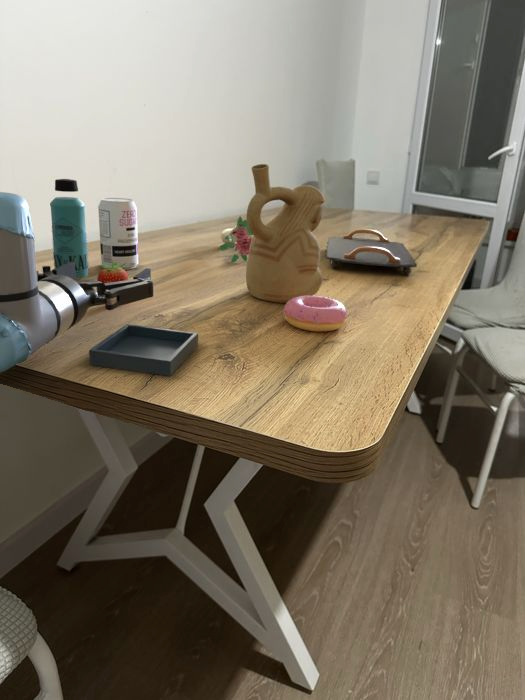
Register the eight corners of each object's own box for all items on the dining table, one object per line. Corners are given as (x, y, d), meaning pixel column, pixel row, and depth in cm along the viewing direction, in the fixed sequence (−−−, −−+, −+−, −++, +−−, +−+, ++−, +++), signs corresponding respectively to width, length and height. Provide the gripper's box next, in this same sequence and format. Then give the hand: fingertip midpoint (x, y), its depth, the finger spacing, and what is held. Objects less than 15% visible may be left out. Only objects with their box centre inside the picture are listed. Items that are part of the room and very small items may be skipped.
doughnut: (359, 328, 88) (362, 305, 87) (310, 338, 82) (312, 313, 81) (317, 311, 96) (319, 289, 95) (269, 318, 90) (271, 295, 89)
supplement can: (109, 261, 124) (106, 196, 118) (143, 264, 123) (141, 199, 118) (95, 268, 116) (91, 200, 111) (131, 271, 116) (129, 202, 110)
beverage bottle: (56, 278, 107) (47, 176, 99) (90, 278, 109) (83, 178, 101) (54, 287, 101) (45, 179, 93) (90, 286, 103) (83, 181, 96)
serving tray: (418, 279, 126) (422, 253, 124) (323, 270, 129) (325, 245, 126) (400, 250, 162) (404, 230, 160) (326, 244, 164) (328, 224, 162)
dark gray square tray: (89, 364, 68) (88, 350, 67) (127, 336, 78) (126, 323, 77) (170, 376, 66) (170, 361, 65) (198, 346, 76) (198, 332, 75)
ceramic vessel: (341, 297, 106) (356, 169, 97) (274, 313, 93) (285, 167, 84) (281, 279, 117) (290, 163, 108) (214, 292, 104) (218, 160, 95)
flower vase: (239, 271, 155) (267, 272, 122) (201, 258, 152) (218, 256, 118) (251, 233, 154) (282, 224, 121) (212, 219, 151) (233, 205, 117)
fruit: (113, 309, 90) (111, 264, 87) (93, 303, 92) (90, 259, 89) (135, 303, 94) (134, 259, 91) (115, 297, 97) (113, 255, 94)
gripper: (-33, 324, 73) (44, 287, 92) (139, 342, 70) (180, 300, 90) (-41, 272, 70) (40, 245, 90) (137, 288, 68) (180, 257, 87)
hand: (110, 272), depth 90 cm, fingers open, 13 cm apart
